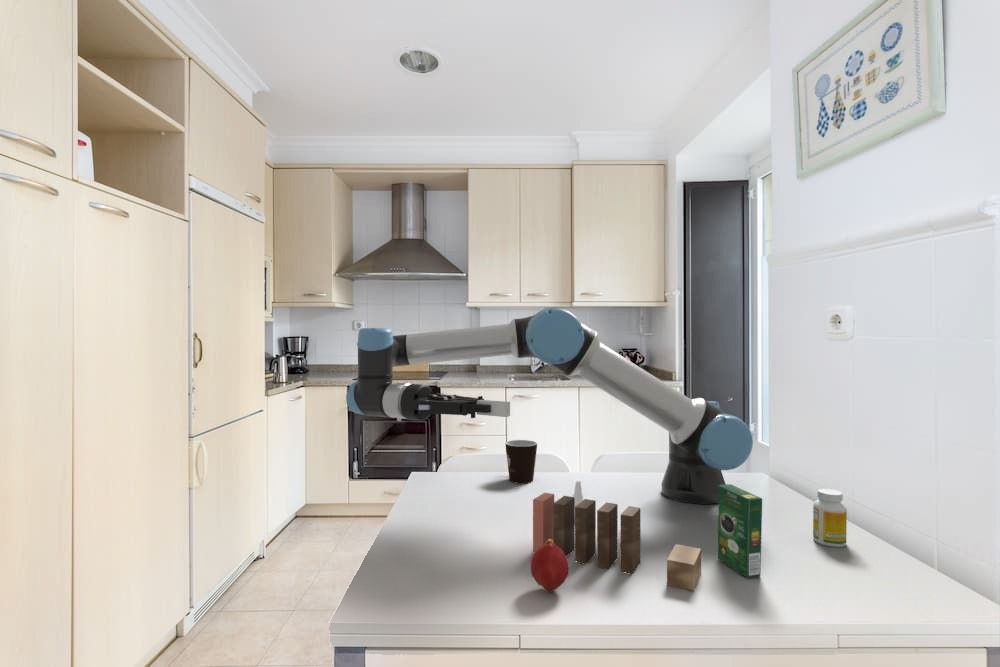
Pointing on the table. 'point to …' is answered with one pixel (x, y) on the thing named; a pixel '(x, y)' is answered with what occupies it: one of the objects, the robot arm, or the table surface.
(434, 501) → the table surface
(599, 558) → the domino
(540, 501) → the domino
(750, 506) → the coffee box
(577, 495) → the garlic bulb
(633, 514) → the domino
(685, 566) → the end block
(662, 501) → the table surface
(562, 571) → the onion
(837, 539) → the supplement bottle
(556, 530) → the domino
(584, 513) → the domino
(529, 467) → the coffee mug
